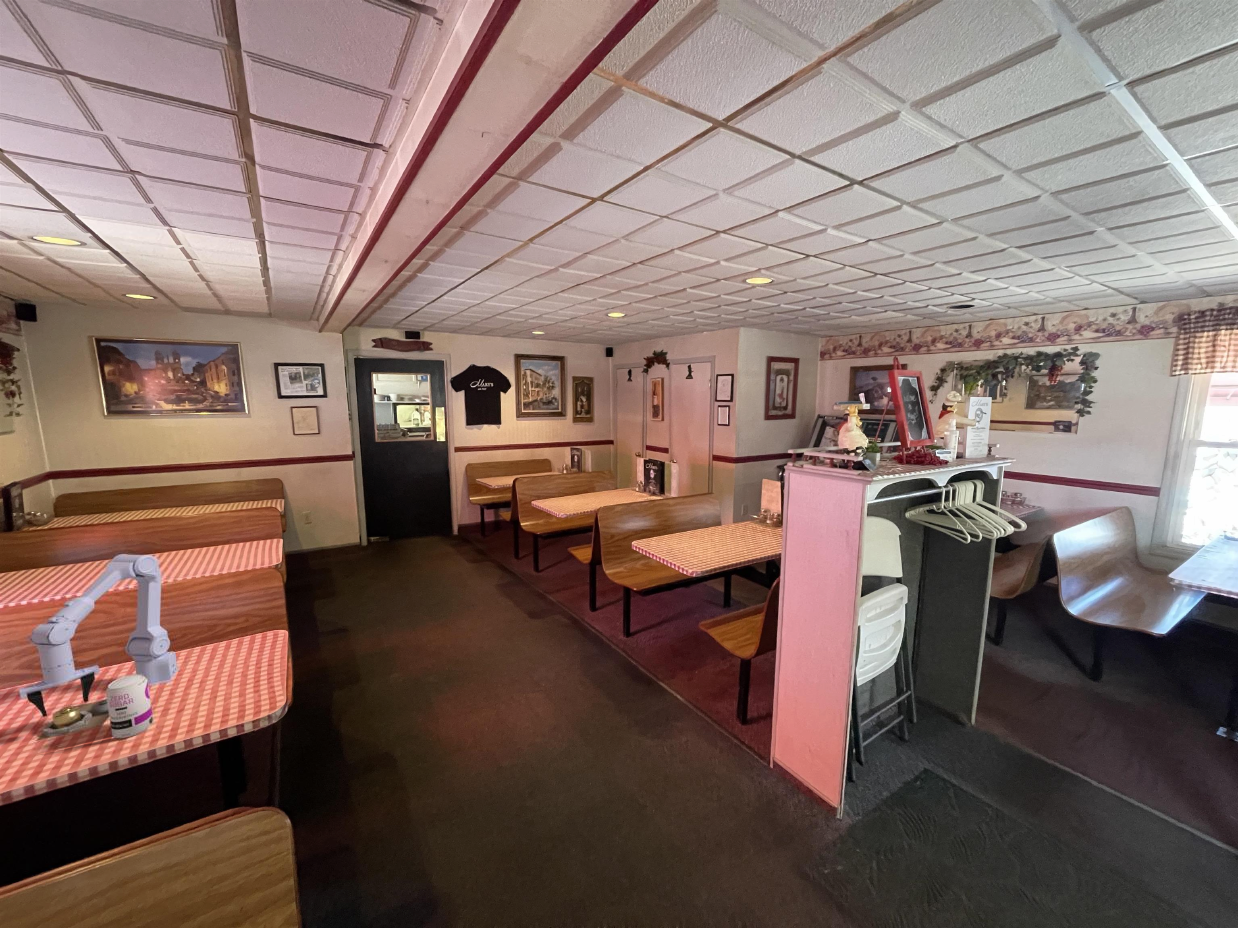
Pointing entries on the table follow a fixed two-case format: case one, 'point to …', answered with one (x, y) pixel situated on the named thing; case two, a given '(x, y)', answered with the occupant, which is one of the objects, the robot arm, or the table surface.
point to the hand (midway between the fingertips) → (65, 707)
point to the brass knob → (66, 717)
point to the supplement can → (129, 706)
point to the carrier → (90, 718)
